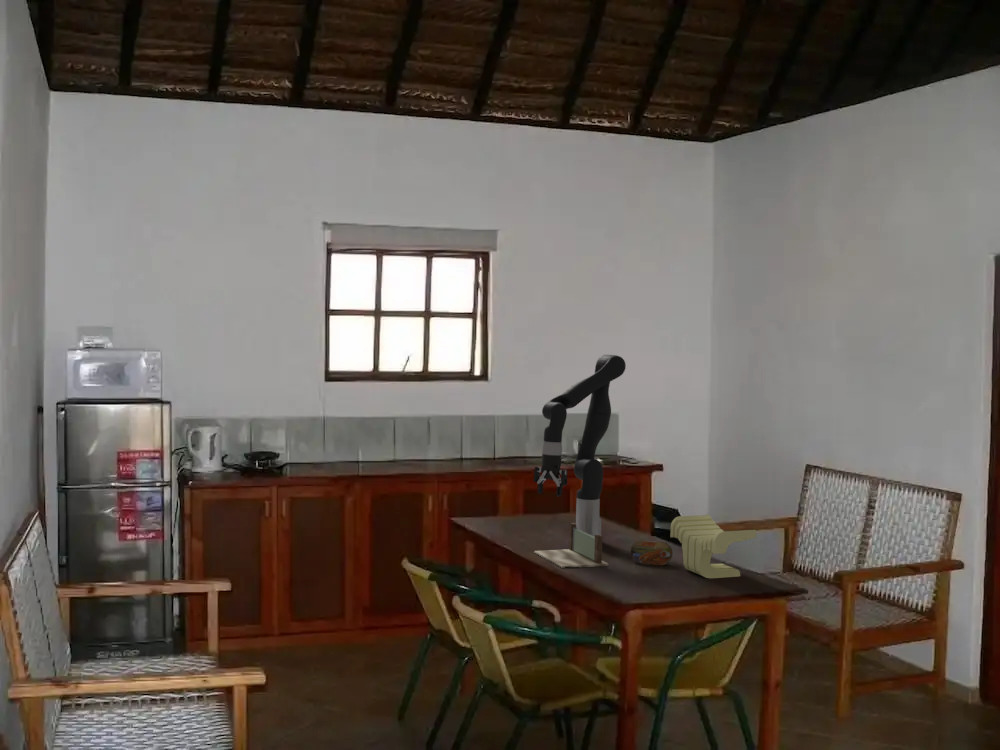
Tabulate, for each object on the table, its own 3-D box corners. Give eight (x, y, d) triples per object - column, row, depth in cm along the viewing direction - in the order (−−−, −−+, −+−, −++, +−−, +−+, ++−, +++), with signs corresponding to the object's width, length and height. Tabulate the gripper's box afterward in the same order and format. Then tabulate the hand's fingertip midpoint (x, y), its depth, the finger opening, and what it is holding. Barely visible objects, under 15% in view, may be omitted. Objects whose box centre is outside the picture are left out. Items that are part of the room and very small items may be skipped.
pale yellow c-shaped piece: (669, 565, 394) (670, 516, 393) (708, 563, 400) (709, 514, 399) (713, 584, 366) (715, 531, 365) (754, 581, 372) (756, 529, 371)
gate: (575, 549, 414) (576, 527, 413) (598, 560, 394) (598, 537, 394) (571, 549, 413) (572, 527, 413) (594, 560, 394) (594, 537, 393)
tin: (630, 562, 398) (630, 539, 398) (632, 561, 401) (632, 538, 400) (671, 566, 393) (671, 543, 392) (672, 565, 396) (673, 541, 395)
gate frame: (578, 550, 417) (578, 522, 417) (608, 565, 392) (608, 535, 391) (534, 553, 411) (534, 524, 411) (561, 568, 386) (562, 538, 385)
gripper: (572, 454, 425) (570, 496, 425) (542, 451, 433) (539, 492, 433) (561, 455, 418) (559, 497, 419) (531, 452, 427) (528, 493, 427)
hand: (549, 495), depth 426 cm, fingers open, 8 cm apart
